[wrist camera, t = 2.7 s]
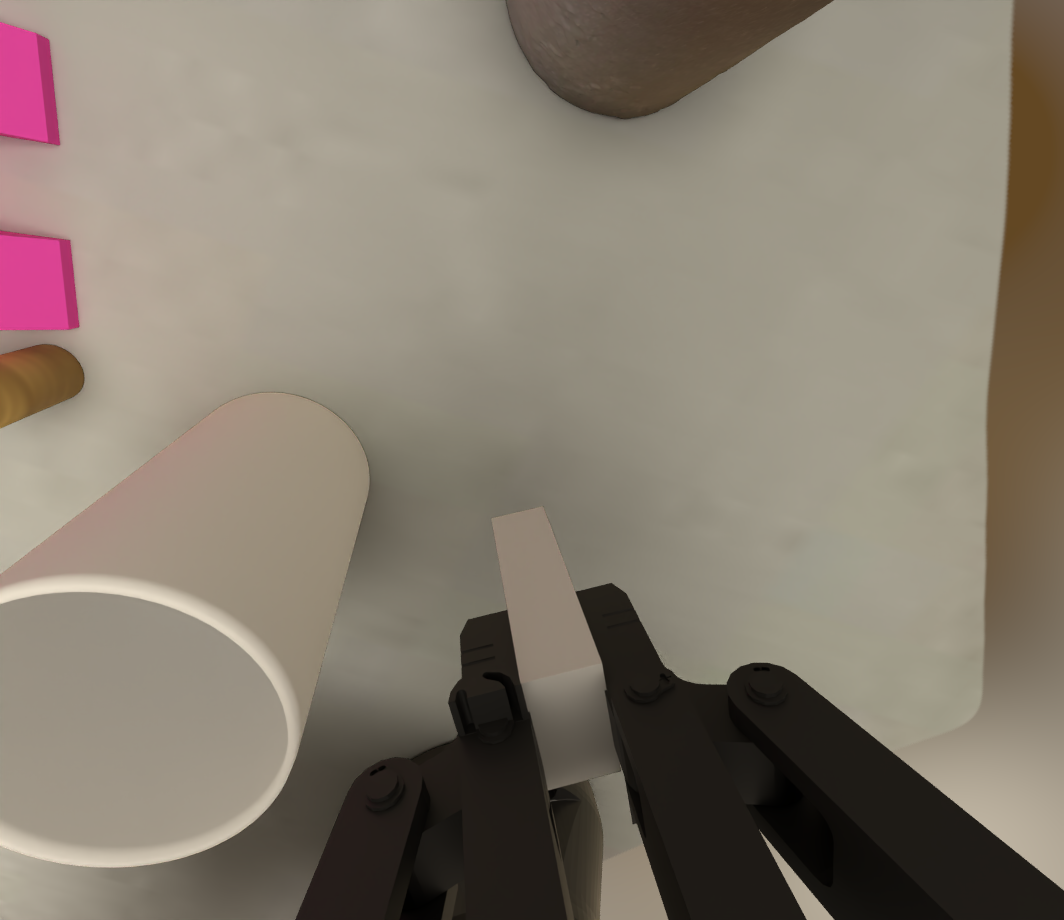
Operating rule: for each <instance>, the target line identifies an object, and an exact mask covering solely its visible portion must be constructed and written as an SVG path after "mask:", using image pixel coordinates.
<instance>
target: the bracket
mask: <svg viewBox="0 0 1064 920" xmlns="http://www.w3.org/2000/svg"><path fill="white" fill-rule="evenodd" d="M0 135H1V136H7V137H13V138H19V139H25V140H32V141H38V142H44V143H50V144H56V145H60V140H59V131H58V121H57V112H56V102H55V93H54V83H53V74H52V64H51V55H50V45H49V40H48V39H46V38H44V37H42V36H40V35H38V34H36V33H33V32H30V31H27V30H24V29H21V28H17V27H14V26H11V25H8V24H4V23H1V22H0ZM77 327H79V321H78V311H77V302H76V292H75V283H74V273H73V264H72V254H71V245H70V240H63V239H56V238H49V237H42V236H34V235H27V234H20V233H13V232H5V231H0V330H69V329H73V328H77Z"/></svg>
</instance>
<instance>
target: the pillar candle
mask: <svg viewBox="0 0 1064 920" xmlns="http://www.w3.org/2000/svg"><path fill="white" fill-rule="evenodd" d="M832 1H833V0H506V3H507V7H508V11H509V16H510V19H511V23H512V27H513V30H514V33H515V35H516V38H517V41H518V42H519V45H520V47H521V48H522V50H523V52H524V54H525V56H526V58H527V59H528V61H529V63H530V64H531V66H532V68H533V70H534V71H535V72H536V73H537V74H538V75H539V76H540V77H541V78H542V79H543V80H544V81H545V82H546V83H547V84H548V86H549V87H550V89H551V90H553V91H554V92H555V93H556V94H558V95H559V96H560V97H562V98H563V99H565V100H567V101H569V102H570V103H572V104H574V105H576V106H578V107H580V108H582V109H585V110H587V111H590V112H594V113H598V114H602V115H608V116H617V117H619V118H621V119H628V118H632V117H639V116H645V115H649V114H652V113H655V112H658V111H659V110H660V109H663V108H665V107H668V106H670V105H673V104H674V103H676V102H677V101H679V100H680V99H681V98H683V97H684V96H686V95H687V94H689V93H690V92H692V91H694V90H696V89H697V88H699V87H701V86H702V85H704V84H705V83H707V82H709V81H710V80H711V79H713V78H714V77H716V76H717V75H718V74H720V73H723V72H725V71H727V70H728V69H730V68H731V67H733V66H734V65H736V64H737V63H739V62H740V61H742V60H743V59H745V58H746V57H748V56H749V55H751V54H752V53H754V52H755V51H756V50H758V49H759V48H761V47H762V46H764V45H765V44H767V43H768V42H770V41H771V40H773V39H774V38H776V37H778V36H779V35H781V34H783V33H784V32H786V31H787V30H789V29H790V28H792V27H794V26H795V25H797V24H799V23H800V22H802V21H804V20H805V19H807V18H808V17H809V16H811V15H812V14H814V13H815V12H817V11H818V10H820V9H822V8H823V7H825V6H826V5H827V4H829V3H831V2H832Z"/></svg>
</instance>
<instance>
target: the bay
mask: <svg viewBox="0 0 1064 920" xmlns="http://www.w3.org/2000/svg"><path fill="white" fill-rule="evenodd" d="M83 383H84V374H83V370H82V367H81V365H80V364H79V362H78V361H77V360H76V358H75V357H74V356H73V355H71V354H70V353H69V352H68V351H66V350H64V349H62V348H60V347H57V346H54V345H47V344H42V345H36V346H33V347H29V348H25V349H21V350H17V351H14V352H10V353H6V354H2V355H0V428H2V427H5V426H7V425H9V424H11V423H14V422H16V421H18V420H21V419H23V418H25V417H28V416H30V415H32V414H35V413H37V412H39V411H42V410H44V409H46V408H49V407H51V406H53V405H56V404H58V403H60V402H62V401H65V400H67V399H69V398H72V397H74V396H75V395H76V394H78V393H79V391H80V390H81V388H82V386H83Z"/></svg>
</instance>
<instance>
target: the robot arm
mask: <svg viewBox="0 0 1064 920" xmlns="http://www.w3.org/2000/svg"><path fill="white" fill-rule="evenodd" d="M491 520H492V525H493V531H494V537H495V542H496V548H497V554H498V559H499V565H500V571H501V576H502V582H503V588H504V593H505V599H506V605H507V610H505V611H501V612H497V613H493V614H489V615H485V616H481V617H477V618H473V619H468V621H467V623H466V625H465V627H464V629H463V631H462V633H461V635H460V646H461V665H462V679H461V680H459V681H458V682H457V684H456V685H455V687H454V688H453V689H452V691H451V693H450V697H449V702H448V704H449V707H450V710H451V713H452V716H453V720H454V723H455V726H456V729H457V732H458V735H457V737H456V738H455V740H454V741H453V742H452V743H450V744H446V745H443V746H440V747H437V748H435V749H432V750H430V751H428V752H425V753H423V754H421V755H419V756H417V757H416V758H414V759H412V760H409V759H406V758H398V757H395V758H390V759H386V760H382V761H380V762H378V763H376V764H374V765H372V766H371V767H369V768H367V769H366V770H365V771H364V772H363V773H362V774H361V775H360V776H359V777H358V778H357V779H356V780H355V781H354V783H353V785H352V786H351V788H350V790H349V791H348V793H347V796H346V798H345V800H344V803H343V805H342V808H341V810H340V813H339V815H338V817H337V820H336V822H335V825H334V827H333V830H332V832H331V834H330V837H329V839H328V842H327V844H326V847H325V849H324V852H323V854H322V856H321V859H320V861H319V864H318V866H317V869H316V871H315V873H314V876H313V878H312V881H311V883H310V886H309V888H308V890H307V893H306V895H305V898H304V900H303V903H302V905H301V907H300V910H299V912H298V915H297V917H296V920H600V901H601V878H602V858H603V831H602V824H601V819H600V816H599V812H598V809H597V805H596V801H595V798H594V794H593V791H592V788H591V786H590V784H589V782H588V780H589V779H593V778H597V777H600V776H604V775H608V774H612V773H615V772H619V771H621V768H622V771H623V773H624V776H625V782H626V788H627V793H628V799H629V805H630V811H631V816H632V822H633V824H636V823H637V825H638V828H639V831H640V834H641V837H642V840H643V844H644V847H645V850H646V853H647V856H648V858H649V862H650V865H651V868H652V871H653V874H654V877H655V880H656V883H657V886H658V889H659V892H660V895H661V898H662V901H663V904H664V907H665V910H666V913H667V916H668V919H669V920H806V918H805V916H804V914H803V912H802V910H801V908H800V907H799V904H798V903H797V901H796V899H795V897H794V895H793V893H792V891H791V890H790V887H789V886H788V884H787V882H786V880H785V878H784V876H783V874H782V872H781V871H780V869H779V867H778V865H777V863H776V861H775V859H774V857H773V856H772V854H771V852H770V850H769V848H768V846H767V845H766V842H765V840H764V839H763V837H762V835H761V833H760V831H761V832H762V834H763V835H764V836H765V837H766V838H767V840H768V841H769V842H770V843H771V844H772V846H773V847H774V848H775V849H776V850H777V851H778V853H779V854H780V855H781V856H782V858H783V859H784V860H785V861H786V862H787V864H788V865H789V866H790V867H791V868H792V869H793V871H794V872H795V873H796V874H797V875H798V877H799V878H800V879H801V880H802V881H803V883H804V884H805V885H806V886H807V887H808V889H809V890H810V891H811V892H812V893H813V895H814V896H815V897H816V898H817V899H818V901H819V902H820V903H821V904H822V905H823V907H824V908H825V909H826V910H827V911H828V913H829V914H830V915H831V916H832V917H833V918H834V920H1064V890H1062V889H1061V888H1060V887H1059V886H1058V885H1056V884H1055V883H1054V882H1053V881H1051V880H1050V879H1049V878H1047V877H1046V876H1045V875H1044V874H1043V873H1041V872H1040V871H1039V870H1038V869H1036V868H1035V867H1034V866H1033V865H1031V864H1030V863H1029V862H1028V861H1027V860H1025V859H1024V858H1023V857H1022V856H1020V855H1019V854H1018V853H1016V852H1015V851H1014V850H1013V849H1012V848H1010V847H1009V846H1008V845H1007V844H1005V843H1004V842H1003V841H1002V840H1000V839H999V838H998V837H996V836H995V835H994V834H993V833H992V832H991V831H989V830H988V829H987V828H986V827H984V826H983V825H982V824H981V823H979V822H978V821H977V820H976V819H974V818H973V817H972V816H970V815H969V814H968V813H967V812H965V811H964V810H963V809H962V808H961V807H959V806H958V805H957V804H956V803H954V802H953V801H952V800H951V799H950V798H948V797H947V796H946V795H944V794H943V793H942V792H941V791H940V790H938V789H937V788H935V786H933V785H932V784H931V783H930V782H928V781H927V780H926V779H925V778H924V777H922V776H921V775H920V774H919V773H917V772H916V771H915V770H913V769H912V768H911V767H910V766H909V765H907V764H906V763H905V762H904V761H902V760H901V759H900V758H899V757H897V756H896V755H895V754H893V753H892V752H891V751H890V750H889V749H888V748H886V747H885V746H884V745H883V744H881V743H880V742H879V741H878V740H876V739H875V738H874V737H873V736H871V735H870V734H869V733H868V732H866V731H865V730H864V729H863V728H861V727H860V726H859V725H858V724H856V723H855V722H854V721H853V720H852V719H850V718H849V717H848V716H847V715H845V714H844V713H843V712H842V711H840V710H839V709H838V708H837V707H835V706H834V705H833V704H832V703H830V702H829V701H828V700H827V699H825V698H824V697H823V696H822V695H820V694H819V693H818V692H817V691H816V690H814V689H813V688H812V687H811V686H809V685H808V684H807V683H806V682H804V681H803V680H802V679H801V678H799V677H798V676H797V675H796V674H794V673H792V672H791V671H789V670H787V669H785V668H784V667H781V666H778V665H774V664H770V663H751V664H748V665H744V666H741V667H739V668H738V669H737V670H735V671H734V672H733V673H731V675H730V677H729V679H728V681H727V685H707V684H695V683H691V682H687V681H684V680H682V679H680V678H678V677H677V676H676V675H675V674H674V673H673V672H672V671H671V670H669V669H667V668H665V666H664V665H663V664H662V662H661V660H660V658H659V656H658V654H657V652H656V650H655V648H654V646H653V644H652V643H651V641H650V639H649V637H648V635H647V633H646V631H645V629H644V627H643V625H642V623H641V621H640V620H639V617H638V615H637V613H636V611H635V610H634V608H633V606H632V604H631V602H630V600H629V598H628V596H627V594H626V593H625V592H624V591H622V590H621V589H619V588H618V587H616V586H615V585H614V584H612V583H610V584H606V585H602V586H597V587H593V588H589V589H585V590H581V591H577V592H575V590H574V587H573V584H572V582H571V579H570V576H569V574H568V571H567V568H566V566H565V563H564V560H563V558H562V555H561V552H560V550H559V547H558V544H557V542H556V539H555V536H554V534H553V531H552V528H551V526H550V523H549V520H548V518H547V515H546V512H545V510H544V507H543V506H542V507H537V508H533V509H529V510H525V511H520V512H516V513H512V514H507V515H503V516H499V517H495V518H491ZM619 762H620V763H619ZM620 765H621V768H620ZM759 830H760V831H759Z"/></svg>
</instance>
